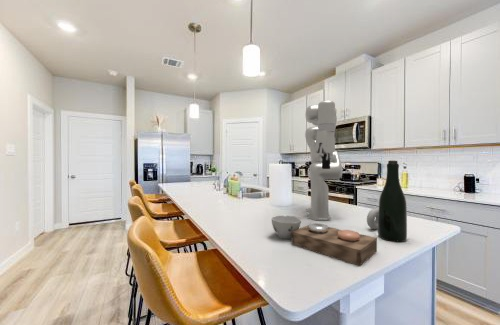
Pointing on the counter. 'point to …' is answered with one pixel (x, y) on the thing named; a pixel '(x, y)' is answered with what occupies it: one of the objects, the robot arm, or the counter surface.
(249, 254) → the counter surface
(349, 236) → the button
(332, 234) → the block
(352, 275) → the counter surface
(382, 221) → the dark green wine bottle
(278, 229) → the teacup
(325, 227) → the button
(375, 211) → the donut
